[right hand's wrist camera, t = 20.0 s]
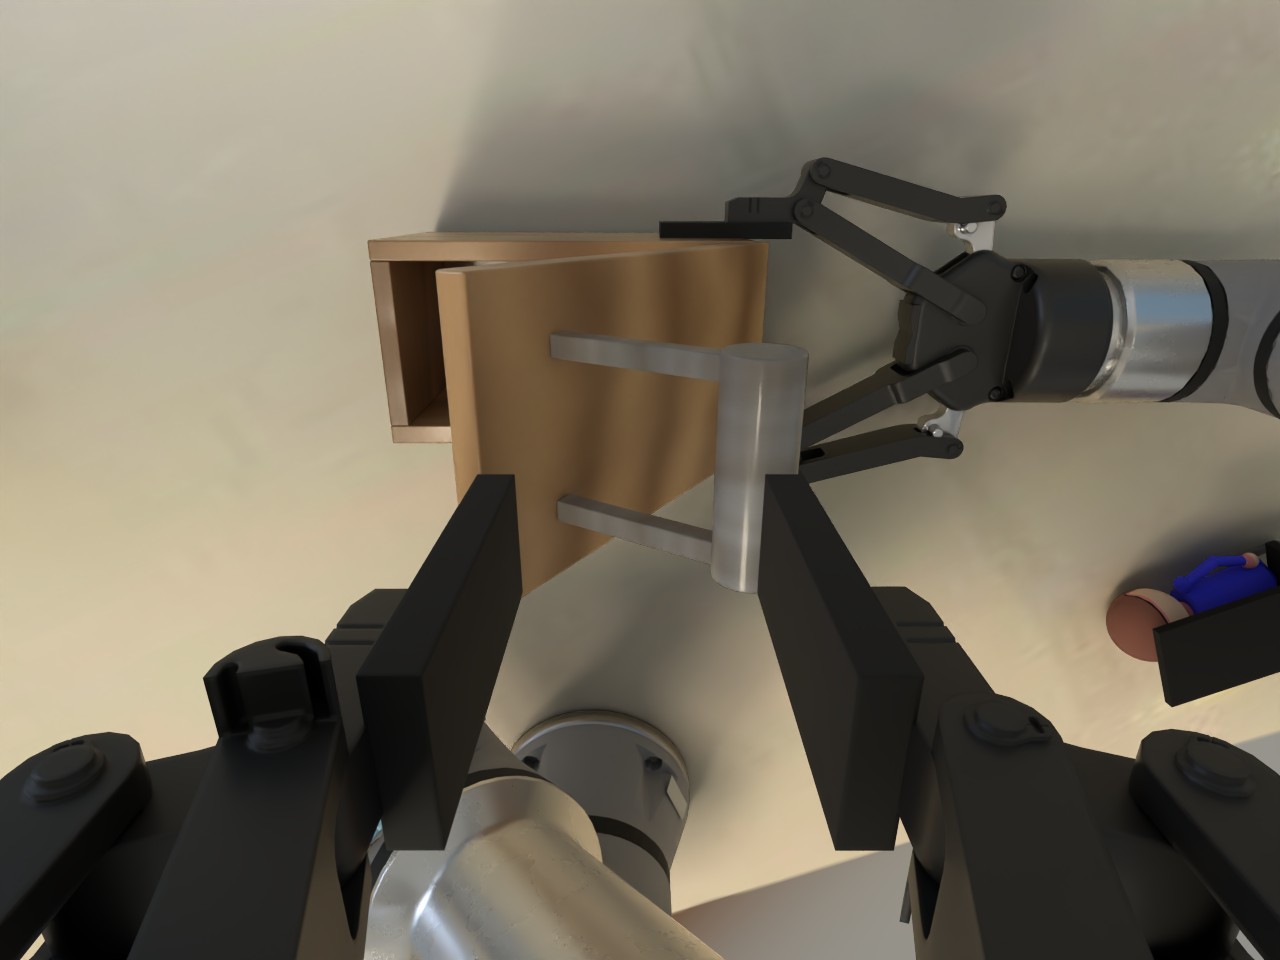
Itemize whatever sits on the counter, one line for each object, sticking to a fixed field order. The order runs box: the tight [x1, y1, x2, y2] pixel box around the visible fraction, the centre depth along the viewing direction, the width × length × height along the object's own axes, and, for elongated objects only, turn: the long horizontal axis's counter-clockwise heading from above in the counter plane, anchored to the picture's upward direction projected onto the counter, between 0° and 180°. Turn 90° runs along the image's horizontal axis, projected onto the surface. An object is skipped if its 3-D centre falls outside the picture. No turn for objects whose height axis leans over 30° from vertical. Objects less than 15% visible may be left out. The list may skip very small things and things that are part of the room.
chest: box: [368, 232, 755, 443], centre depth 39 cm, size 18×10×11 cm, turn 90°
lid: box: [436, 242, 809, 598], centre depth 24 cm, size 18×10×8 cm
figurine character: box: [1106, 540, 1280, 707], centre depth 48 cm, size 7×8×15 cm
